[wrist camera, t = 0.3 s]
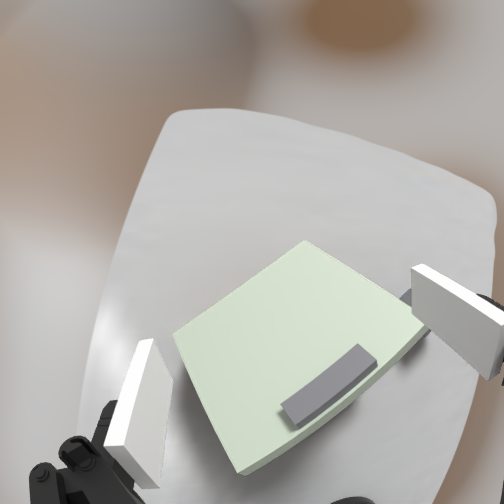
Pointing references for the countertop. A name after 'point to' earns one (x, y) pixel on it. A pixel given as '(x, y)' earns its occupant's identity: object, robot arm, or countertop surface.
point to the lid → (291, 352)
